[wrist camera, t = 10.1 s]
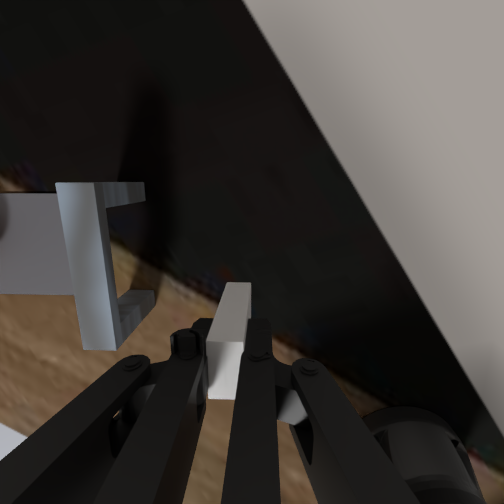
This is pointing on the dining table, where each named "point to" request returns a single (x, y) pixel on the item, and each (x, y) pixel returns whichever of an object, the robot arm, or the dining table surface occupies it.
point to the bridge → (99, 262)
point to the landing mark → (33, 245)
